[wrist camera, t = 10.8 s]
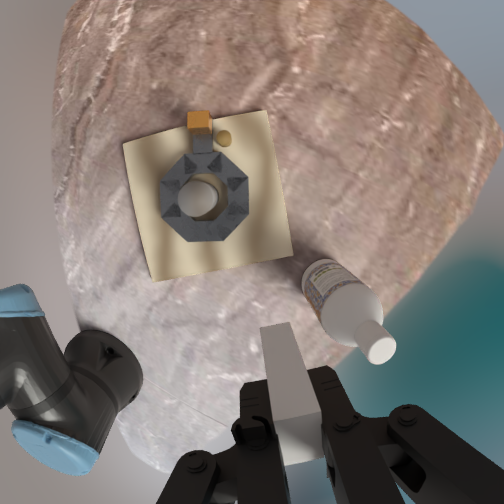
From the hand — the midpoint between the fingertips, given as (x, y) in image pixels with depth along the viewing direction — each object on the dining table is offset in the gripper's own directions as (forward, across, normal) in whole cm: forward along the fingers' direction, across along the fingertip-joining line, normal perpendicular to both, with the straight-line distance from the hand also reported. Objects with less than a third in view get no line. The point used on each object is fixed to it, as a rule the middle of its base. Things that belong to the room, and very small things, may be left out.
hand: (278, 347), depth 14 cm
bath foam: (+27, +9, -7) cm, 29 cm away
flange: (+25, -5, +10) cm, 27 cm away
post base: (+26, -5, +8) cm, 28 cm away
